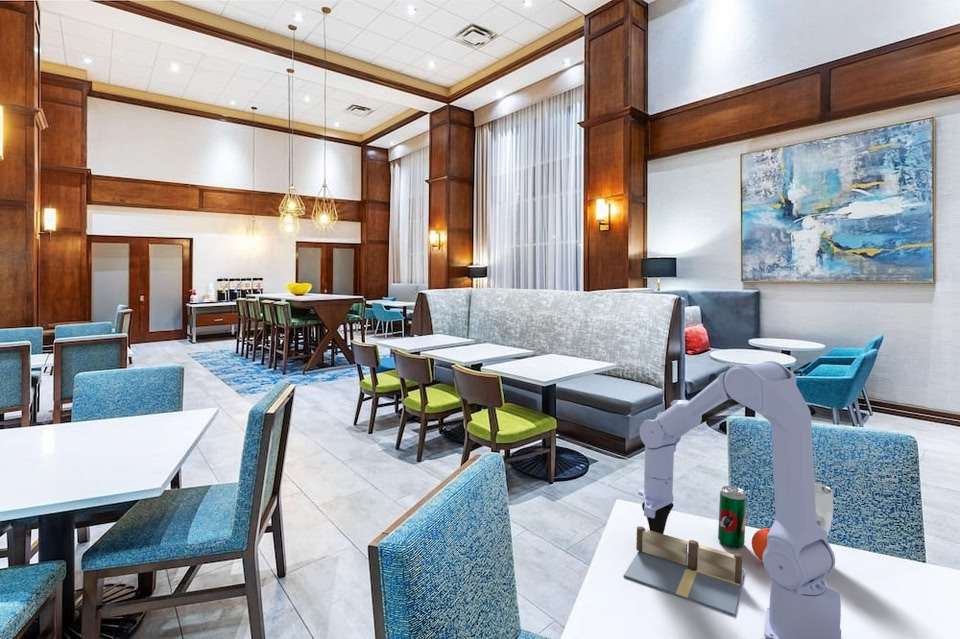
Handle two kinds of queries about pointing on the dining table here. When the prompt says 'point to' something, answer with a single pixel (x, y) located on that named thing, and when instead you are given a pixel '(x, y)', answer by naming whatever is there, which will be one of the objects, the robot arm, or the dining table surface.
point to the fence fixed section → (715, 562)
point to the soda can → (732, 517)
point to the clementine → (760, 542)
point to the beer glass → (823, 506)
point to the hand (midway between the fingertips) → (656, 536)
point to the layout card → (685, 582)
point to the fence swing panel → (661, 545)
